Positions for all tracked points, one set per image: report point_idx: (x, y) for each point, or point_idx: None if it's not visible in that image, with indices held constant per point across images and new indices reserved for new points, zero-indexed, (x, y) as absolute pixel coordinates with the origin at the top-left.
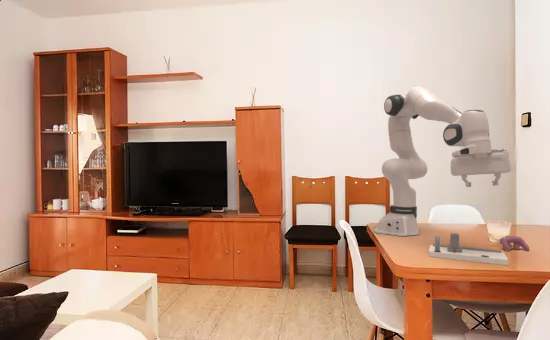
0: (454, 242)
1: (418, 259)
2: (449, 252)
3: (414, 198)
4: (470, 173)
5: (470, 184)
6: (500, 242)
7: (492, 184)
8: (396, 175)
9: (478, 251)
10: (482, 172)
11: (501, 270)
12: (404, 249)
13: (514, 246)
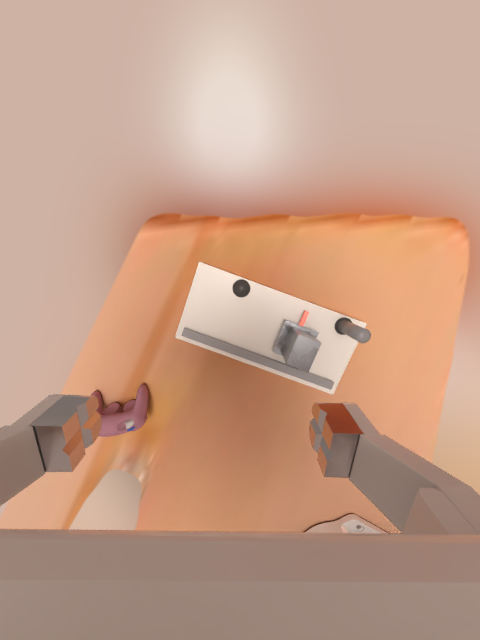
0: (304, 333)
1: (397, 291)
2: (315, 318)
3: None
4: (433, 549)
5: (330, 414)
6: (146, 416)
7: (95, 438)
8: None
9: (236, 335)
10: (164, 553)
11: (235, 220)
12: (397, 382)
13: (118, 407)
